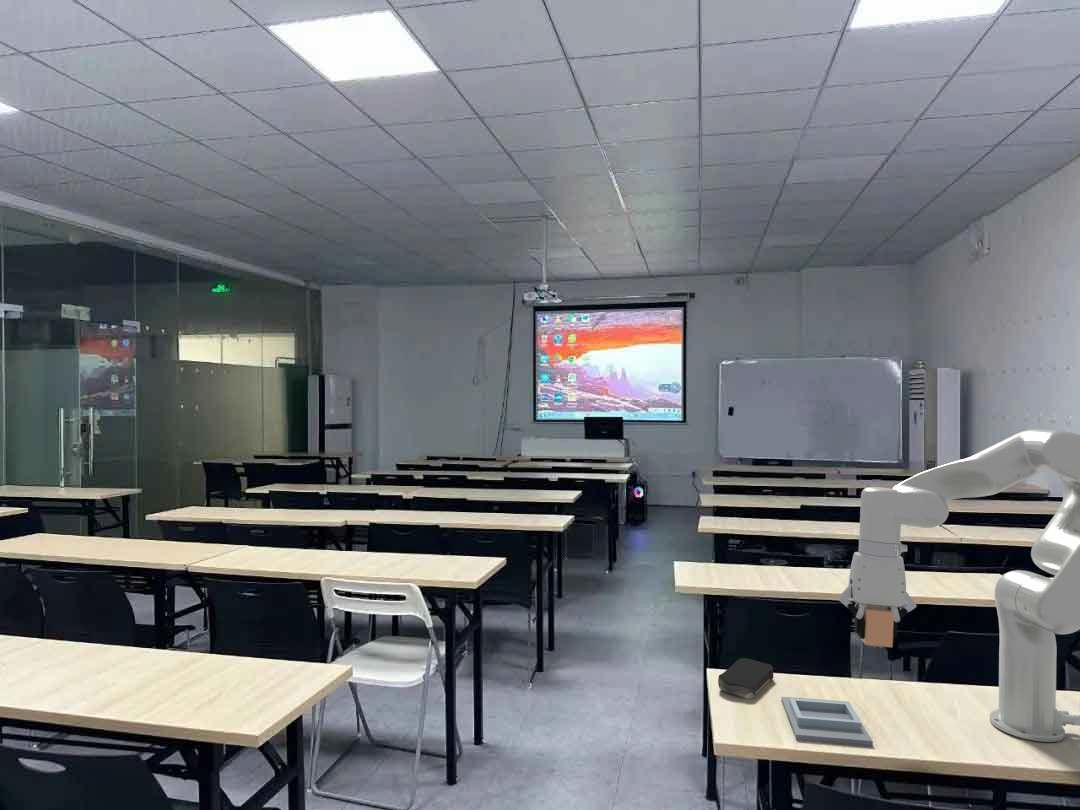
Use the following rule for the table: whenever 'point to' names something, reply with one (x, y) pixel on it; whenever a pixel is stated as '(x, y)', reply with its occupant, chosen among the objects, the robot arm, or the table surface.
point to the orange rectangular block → (878, 626)
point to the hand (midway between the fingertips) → (875, 637)
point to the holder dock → (825, 721)
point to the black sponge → (745, 678)
